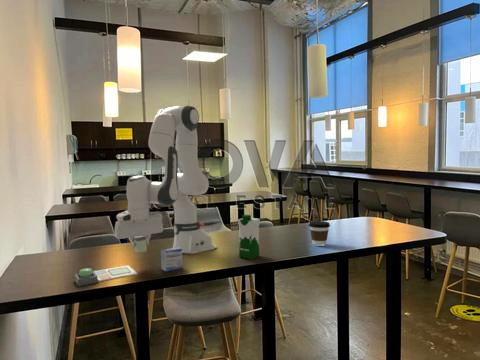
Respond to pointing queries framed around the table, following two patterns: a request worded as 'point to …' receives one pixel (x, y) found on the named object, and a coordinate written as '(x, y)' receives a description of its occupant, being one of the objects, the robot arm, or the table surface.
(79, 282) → the button housing
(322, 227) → the coffee cup
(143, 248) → the marker block
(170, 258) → the medicine box
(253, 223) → the milk carton
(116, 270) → the picture board
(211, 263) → the table surface
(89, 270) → the button
